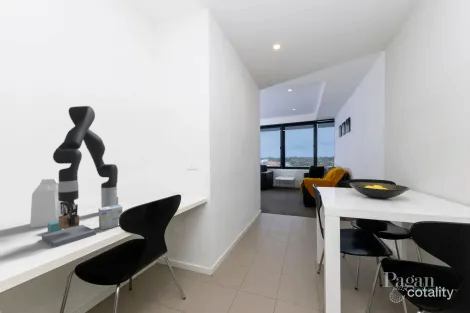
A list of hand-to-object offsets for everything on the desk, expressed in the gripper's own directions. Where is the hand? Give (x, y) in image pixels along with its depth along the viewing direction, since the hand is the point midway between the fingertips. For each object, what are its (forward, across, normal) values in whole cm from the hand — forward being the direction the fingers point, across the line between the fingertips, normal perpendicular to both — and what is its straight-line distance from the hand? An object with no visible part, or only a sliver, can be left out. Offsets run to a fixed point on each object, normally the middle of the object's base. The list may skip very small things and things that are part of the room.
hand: (69, 224), depth 96 cm
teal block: (+6, +16, +1) cm, 17 cm away
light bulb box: (+6, -2, -18) cm, 19 cm away
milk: (+6, +35, -2) cm, 36 cm away
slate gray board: (+6, 0, 0) cm, 6 cm away
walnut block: (+1, 0, 0) cm, 1 cm away
